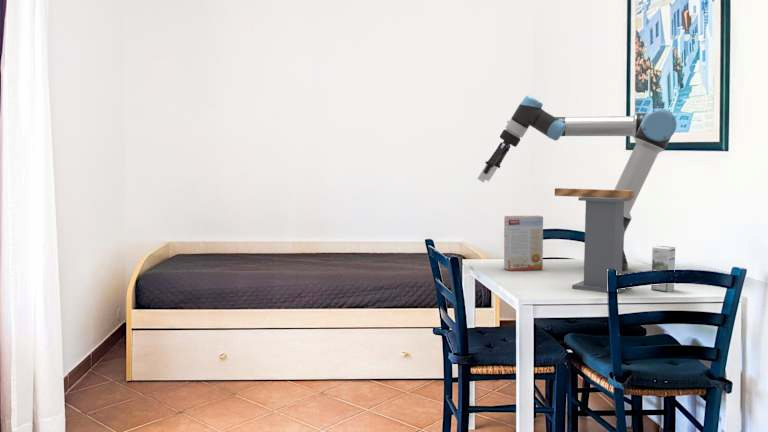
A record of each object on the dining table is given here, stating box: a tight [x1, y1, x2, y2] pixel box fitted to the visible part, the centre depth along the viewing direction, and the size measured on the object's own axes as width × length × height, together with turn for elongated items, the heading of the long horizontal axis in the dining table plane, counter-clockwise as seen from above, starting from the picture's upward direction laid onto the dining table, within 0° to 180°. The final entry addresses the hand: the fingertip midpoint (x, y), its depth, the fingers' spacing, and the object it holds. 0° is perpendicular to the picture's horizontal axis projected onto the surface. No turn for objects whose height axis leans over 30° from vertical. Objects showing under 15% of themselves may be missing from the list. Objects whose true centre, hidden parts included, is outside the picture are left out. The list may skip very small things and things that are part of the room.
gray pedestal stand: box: [571, 197, 631, 294], centre depth 263 cm, size 16×14×30 cm
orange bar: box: [554, 187, 634, 199], centre depth 264 cm, size 26×4×2 cm, turn 57°
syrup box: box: [650, 245, 676, 293], centre depth 261 cm, size 6×6×14 cm
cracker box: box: [503, 215, 544, 272], centre depth 304 cm, size 14×6×21 cm, turn 99°
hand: (483, 180), depth 307 cm, fingers open, 13 cm apart
